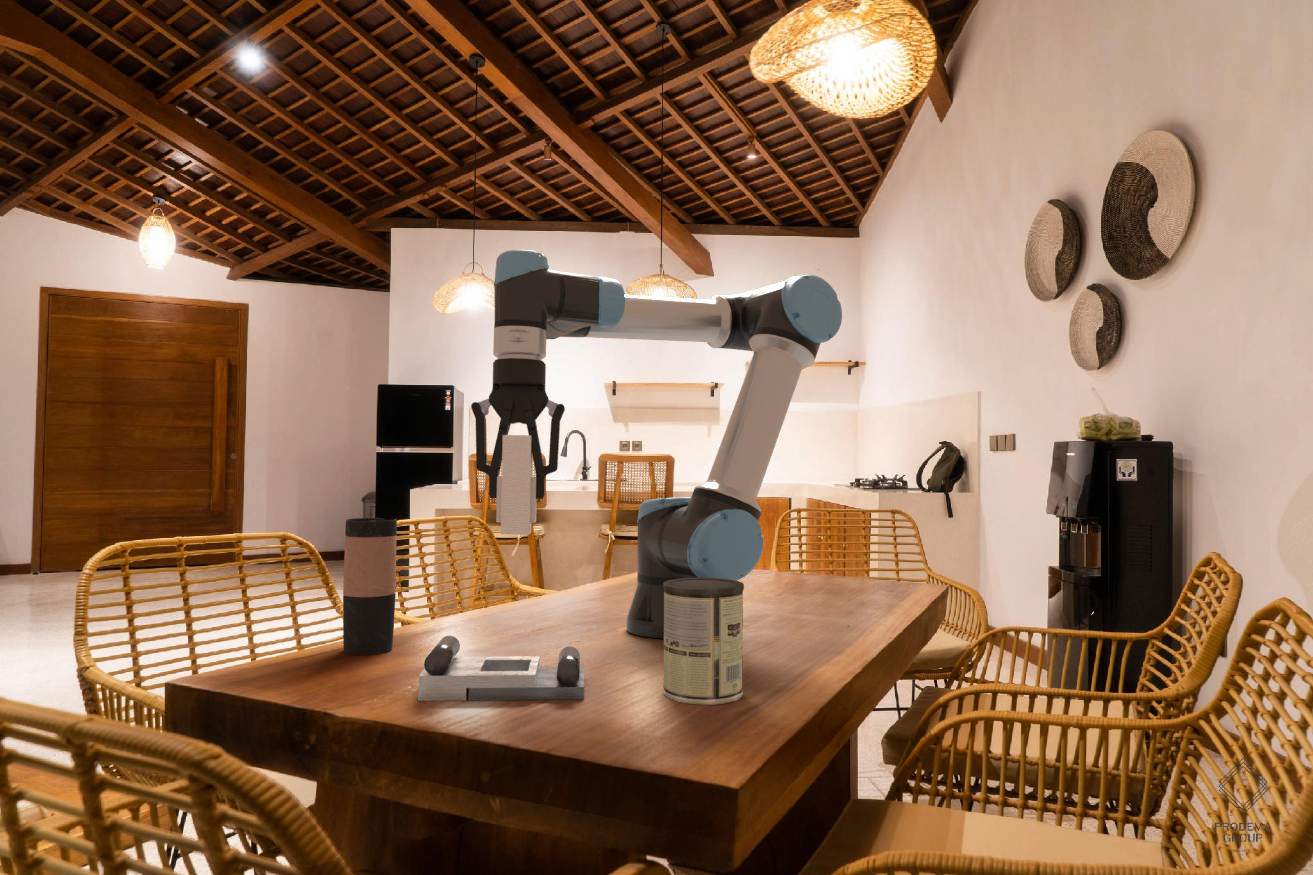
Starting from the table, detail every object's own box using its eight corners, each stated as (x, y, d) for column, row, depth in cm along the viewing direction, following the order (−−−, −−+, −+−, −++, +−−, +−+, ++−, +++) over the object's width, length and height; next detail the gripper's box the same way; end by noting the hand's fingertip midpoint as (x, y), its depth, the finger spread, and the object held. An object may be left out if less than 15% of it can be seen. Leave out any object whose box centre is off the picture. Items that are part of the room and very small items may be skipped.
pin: (531, 532, 120) (533, 436, 121) (529, 534, 116) (531, 435, 117) (503, 532, 120) (505, 435, 121) (500, 534, 116) (502, 434, 117)
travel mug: (339, 656, 122) (343, 521, 123) (343, 645, 129) (347, 517, 130) (393, 654, 124) (397, 520, 125) (394, 643, 131) (398, 517, 132)
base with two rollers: (583, 678, 112) (584, 635, 112) (583, 699, 102) (584, 651, 102) (433, 679, 110) (434, 635, 110) (418, 700, 100) (419, 652, 100)
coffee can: (673, 680, 111) (674, 575, 112) (748, 687, 108) (750, 579, 109) (652, 701, 101) (653, 585, 102) (735, 708, 99) (736, 590, 99)
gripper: (455, 354, 115) (451, 523, 114) (578, 357, 116) (575, 524, 115) (463, 361, 122) (459, 519, 121) (579, 364, 124) (576, 520, 123)
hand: (516, 521), depth 118 cm, fingers closed on pin, 4 cm apart
